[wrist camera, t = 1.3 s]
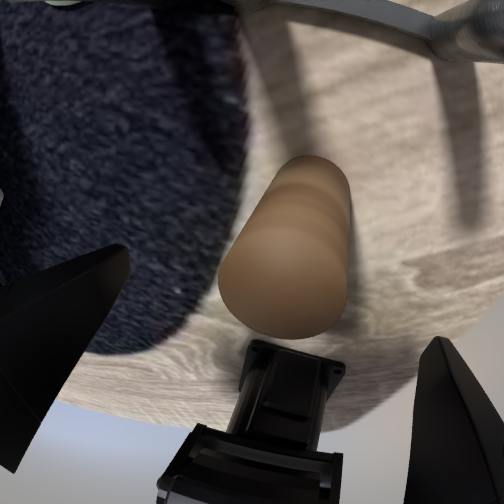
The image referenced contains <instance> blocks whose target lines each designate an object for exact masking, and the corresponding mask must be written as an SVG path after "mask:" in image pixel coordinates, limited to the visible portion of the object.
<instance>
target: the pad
mask: <svg viewBox="0 0 504 504" xmlns="http://www.w3.org/2000/svg"><path fill="white" fill-rule="evenodd" d="M45 2H47V3H49V4H51V5H73V4H76V3H79V2H82V1H45Z"/></svg>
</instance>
